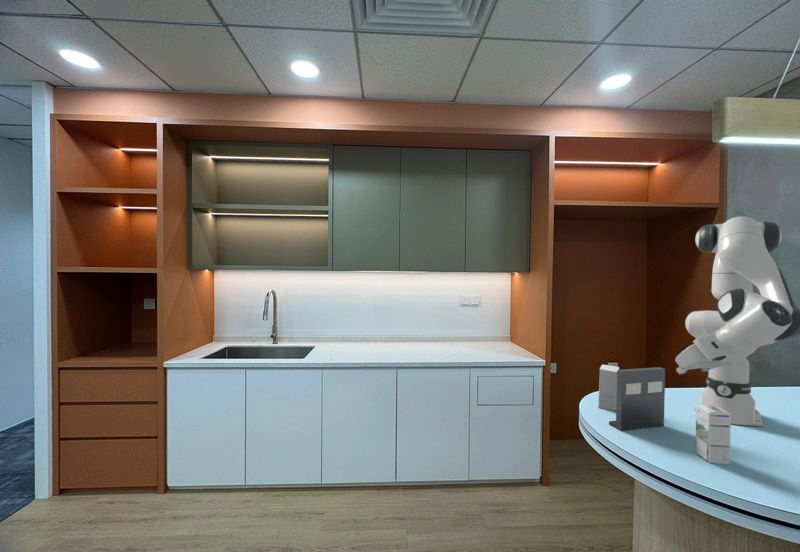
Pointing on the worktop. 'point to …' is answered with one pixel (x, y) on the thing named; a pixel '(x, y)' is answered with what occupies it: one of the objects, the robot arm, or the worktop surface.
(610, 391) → the skincare box
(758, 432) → the worktop surface
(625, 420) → the label panel
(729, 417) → the syrup box
